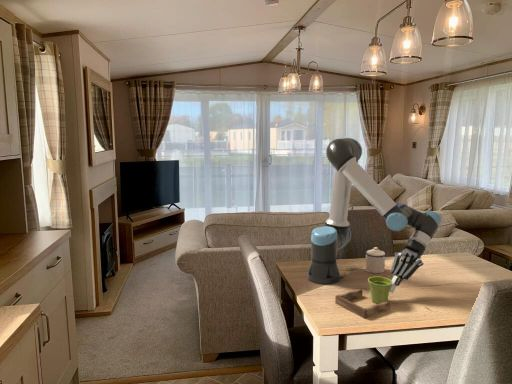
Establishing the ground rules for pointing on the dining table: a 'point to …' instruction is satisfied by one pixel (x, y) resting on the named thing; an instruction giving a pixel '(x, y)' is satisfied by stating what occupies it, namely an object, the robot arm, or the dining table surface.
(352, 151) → the robot arm
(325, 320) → the dining table surface
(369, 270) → the teacup with lid
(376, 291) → the plant pot
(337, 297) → the walnut bay
